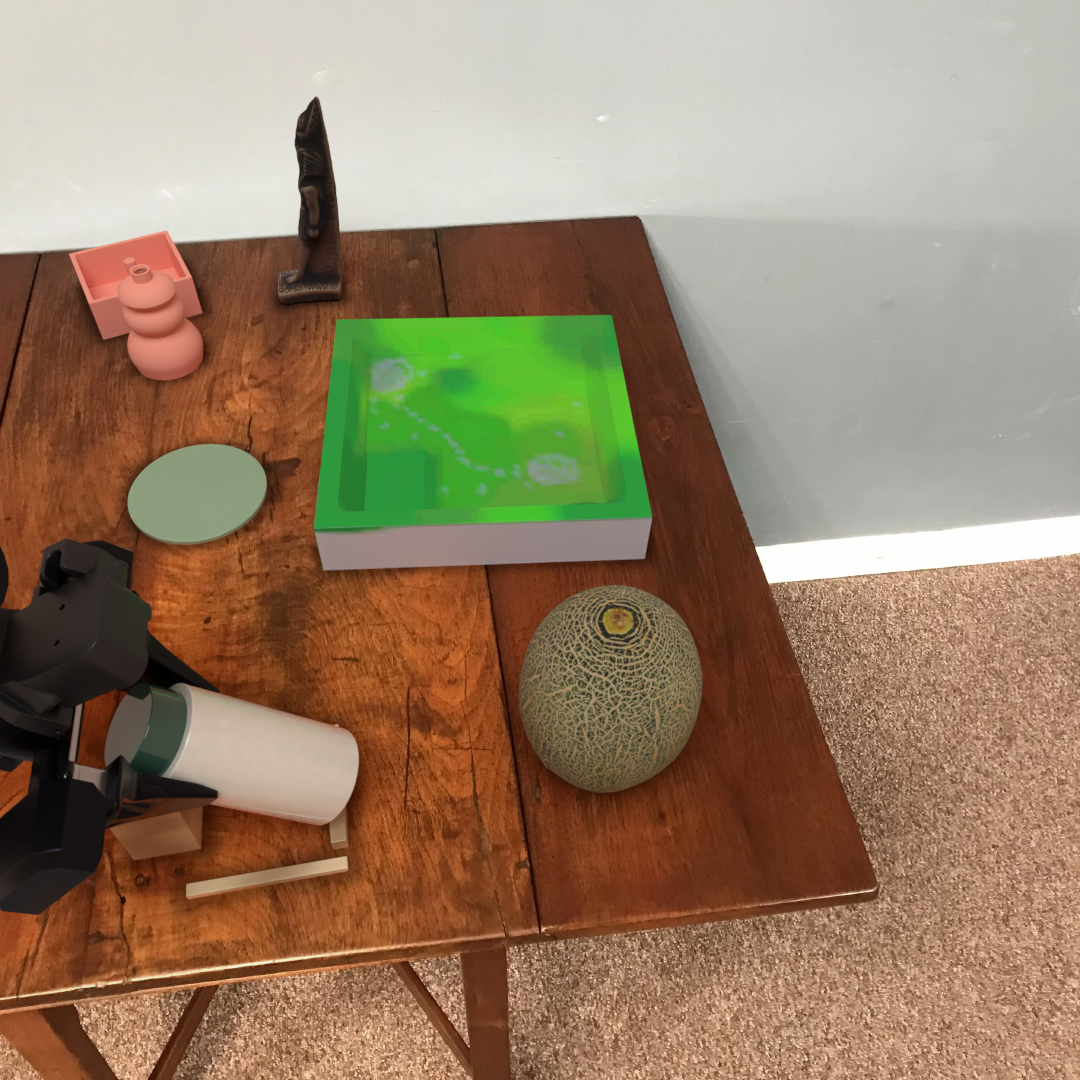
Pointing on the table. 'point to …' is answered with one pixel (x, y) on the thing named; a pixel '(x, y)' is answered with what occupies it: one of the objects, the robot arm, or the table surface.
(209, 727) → the jar
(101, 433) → the table surface
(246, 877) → the jar stand
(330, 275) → the statue
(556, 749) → the fruit
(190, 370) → the pottery
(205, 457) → the coaster
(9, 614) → the robot arm
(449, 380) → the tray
